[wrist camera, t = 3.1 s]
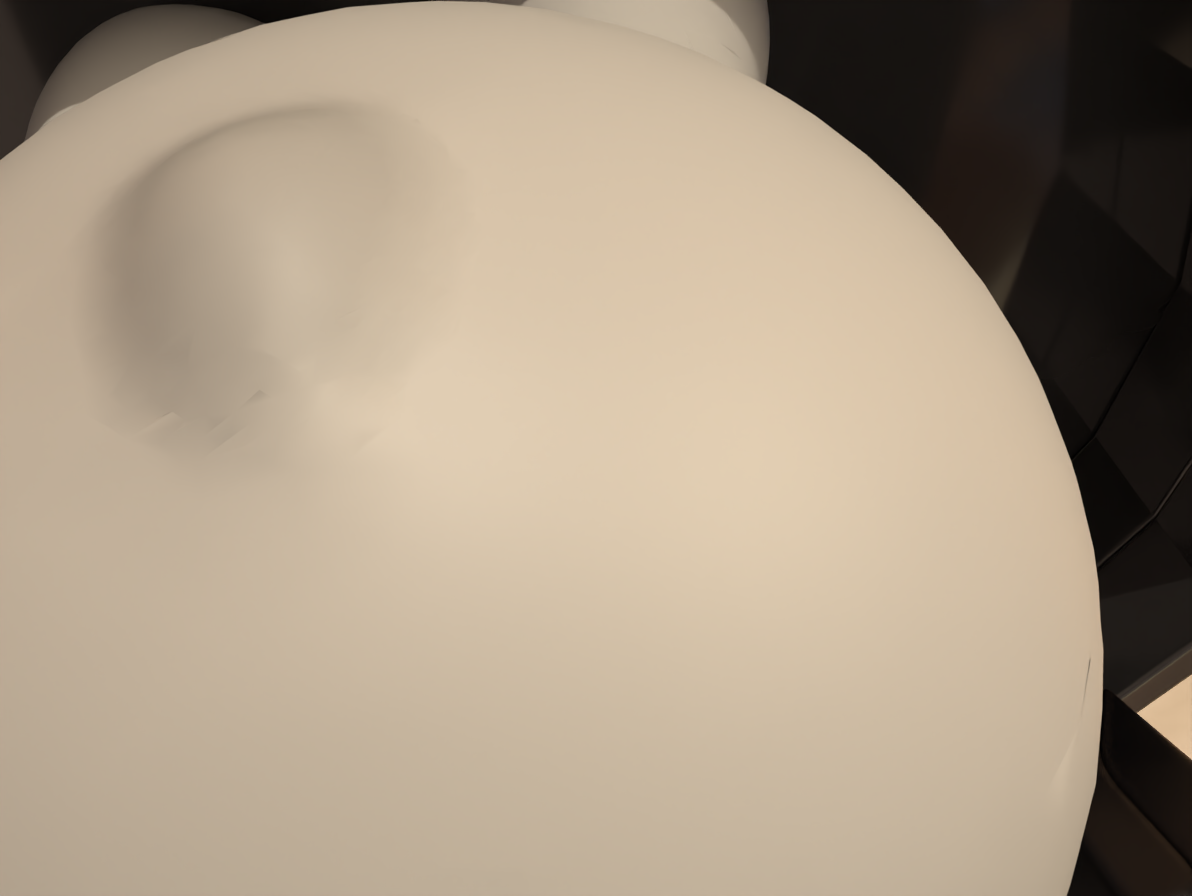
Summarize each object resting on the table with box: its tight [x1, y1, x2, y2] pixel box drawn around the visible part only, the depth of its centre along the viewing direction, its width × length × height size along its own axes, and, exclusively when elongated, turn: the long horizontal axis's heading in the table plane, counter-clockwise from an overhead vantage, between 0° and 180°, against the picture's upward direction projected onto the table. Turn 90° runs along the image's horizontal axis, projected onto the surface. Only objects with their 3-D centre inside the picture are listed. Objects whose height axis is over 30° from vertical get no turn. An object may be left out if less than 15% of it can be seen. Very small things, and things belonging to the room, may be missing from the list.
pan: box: [0, 0, 1192, 713], centre depth 10 cm, size 17×17×4 cm
